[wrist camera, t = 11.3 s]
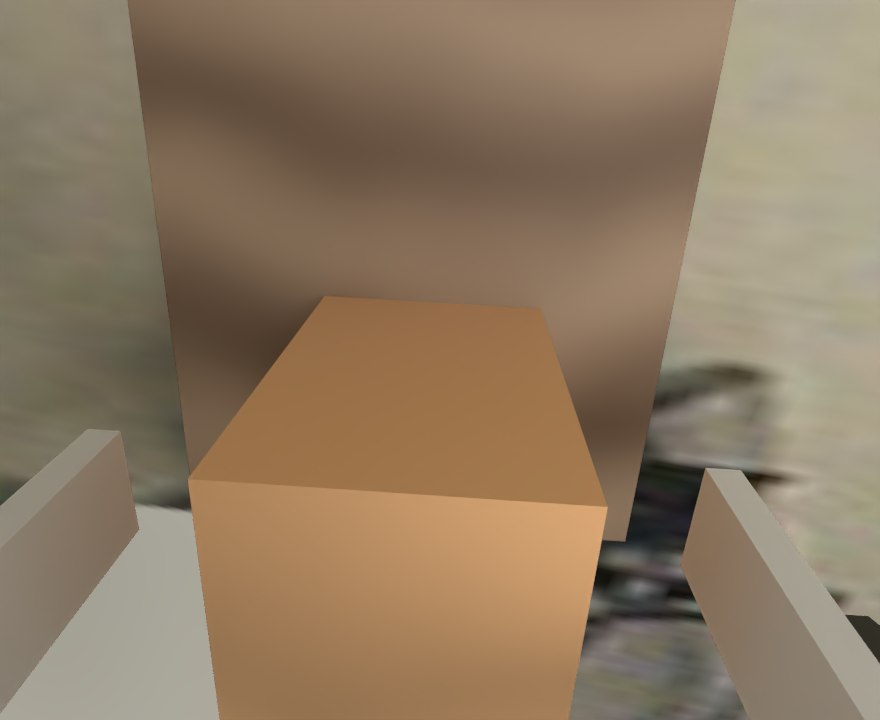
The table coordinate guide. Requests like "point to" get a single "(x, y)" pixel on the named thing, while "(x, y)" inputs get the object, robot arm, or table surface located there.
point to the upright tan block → (401, 522)
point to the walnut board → (429, 181)
